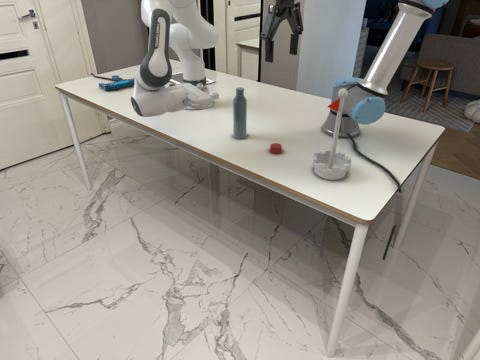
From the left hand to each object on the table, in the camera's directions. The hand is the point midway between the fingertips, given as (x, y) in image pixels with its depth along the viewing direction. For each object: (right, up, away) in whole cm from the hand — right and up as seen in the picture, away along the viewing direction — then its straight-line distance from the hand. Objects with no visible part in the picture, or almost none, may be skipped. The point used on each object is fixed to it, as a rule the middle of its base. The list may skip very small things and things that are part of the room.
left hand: (212, 91), depth 128 cm
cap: (+25, -20, +4) cm, 32 cm away
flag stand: (+43, -30, -7) cm, 53 cm away
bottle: (+11, -15, +17) cm, 25 cm away
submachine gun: (-59, +27, +80) cm, 103 cm away
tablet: (-23, +30, +85) cm, 93 cm away
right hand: (+25, +8, -14) cm, 29 cm away
